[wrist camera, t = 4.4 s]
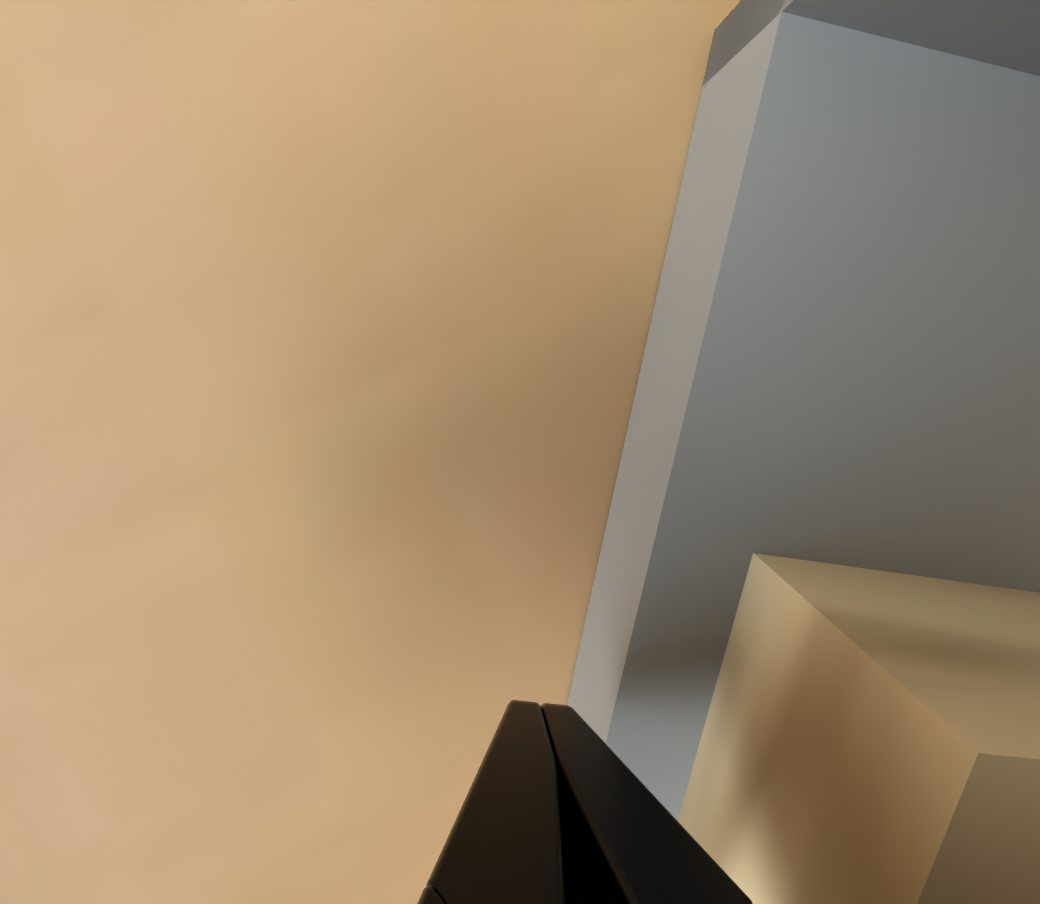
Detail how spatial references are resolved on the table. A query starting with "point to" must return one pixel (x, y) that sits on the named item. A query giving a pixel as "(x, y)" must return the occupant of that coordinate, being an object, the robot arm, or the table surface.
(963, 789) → the maple block
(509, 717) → the robot arm
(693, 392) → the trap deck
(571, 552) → the table surface
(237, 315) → the table surface
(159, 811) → the table surface
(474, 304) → the table surface
